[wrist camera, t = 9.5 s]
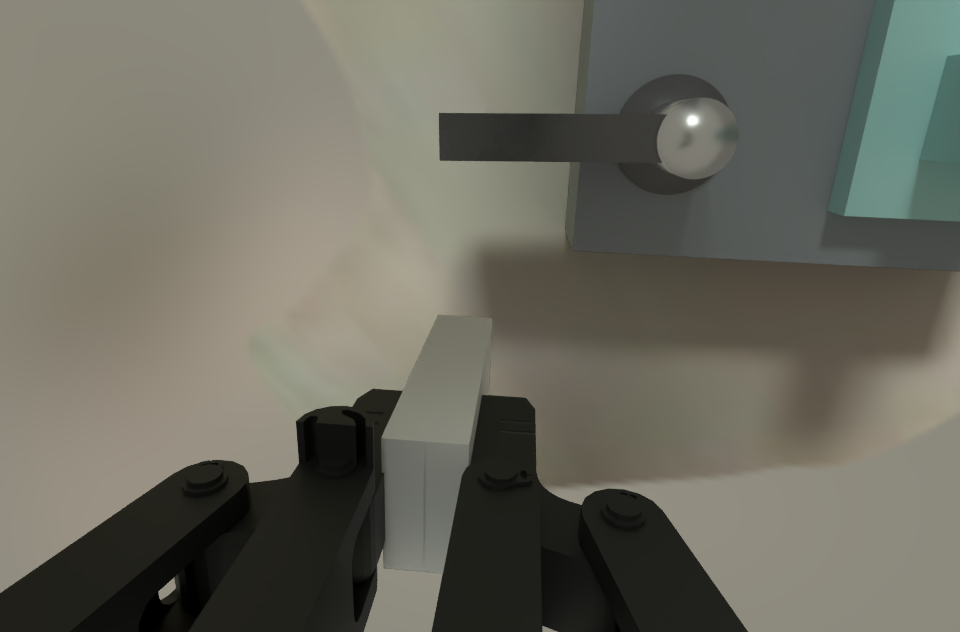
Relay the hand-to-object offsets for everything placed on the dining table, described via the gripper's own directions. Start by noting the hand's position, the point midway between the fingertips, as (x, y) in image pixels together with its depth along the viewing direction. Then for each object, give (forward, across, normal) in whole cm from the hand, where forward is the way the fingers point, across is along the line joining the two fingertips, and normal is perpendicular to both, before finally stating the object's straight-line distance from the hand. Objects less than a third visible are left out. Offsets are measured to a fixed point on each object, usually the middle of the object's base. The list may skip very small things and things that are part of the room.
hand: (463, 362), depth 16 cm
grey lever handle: (+13, +4, +6) cm, 15 cm away
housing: (+20, +15, +7) cm, 26 cm away
